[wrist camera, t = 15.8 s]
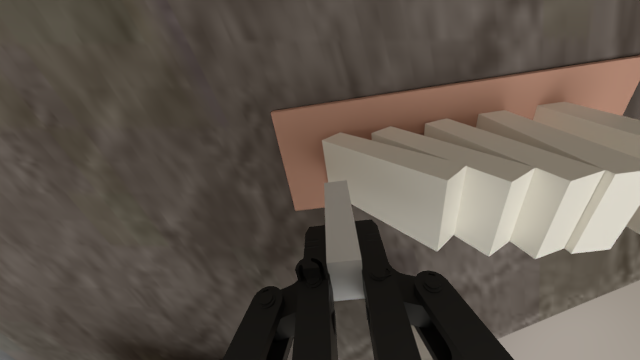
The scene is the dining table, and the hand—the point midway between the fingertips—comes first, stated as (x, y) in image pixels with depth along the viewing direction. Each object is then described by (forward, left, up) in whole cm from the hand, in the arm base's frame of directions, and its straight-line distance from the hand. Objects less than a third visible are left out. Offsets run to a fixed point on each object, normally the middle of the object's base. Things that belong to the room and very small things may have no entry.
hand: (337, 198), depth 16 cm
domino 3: (+9, 0, -6) cm, 10 cm away
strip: (+9, 0, -6) cm, 11 cm away
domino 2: (+4, 0, -5) cm, 7 cm away
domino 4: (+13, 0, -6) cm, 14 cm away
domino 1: (0, 0, -5) cm, 5 cm away
